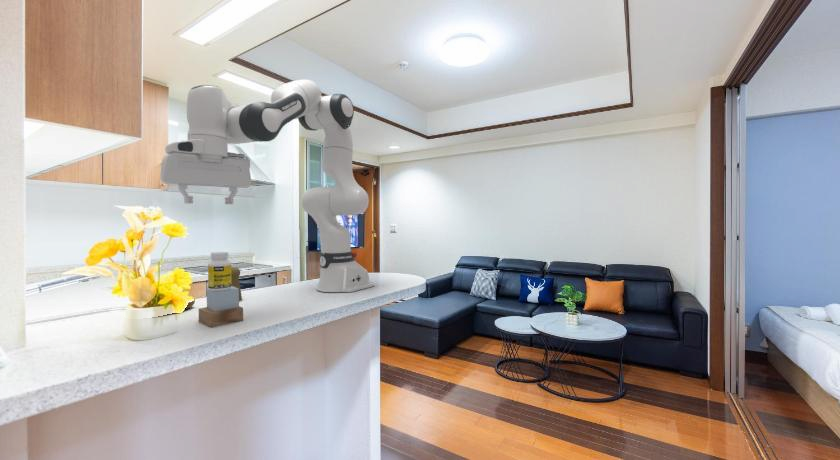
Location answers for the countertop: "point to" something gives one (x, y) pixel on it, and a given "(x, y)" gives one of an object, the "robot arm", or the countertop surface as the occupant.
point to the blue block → (223, 299)
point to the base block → (220, 316)
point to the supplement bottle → (219, 272)
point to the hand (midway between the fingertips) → (209, 203)
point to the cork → (236, 280)
